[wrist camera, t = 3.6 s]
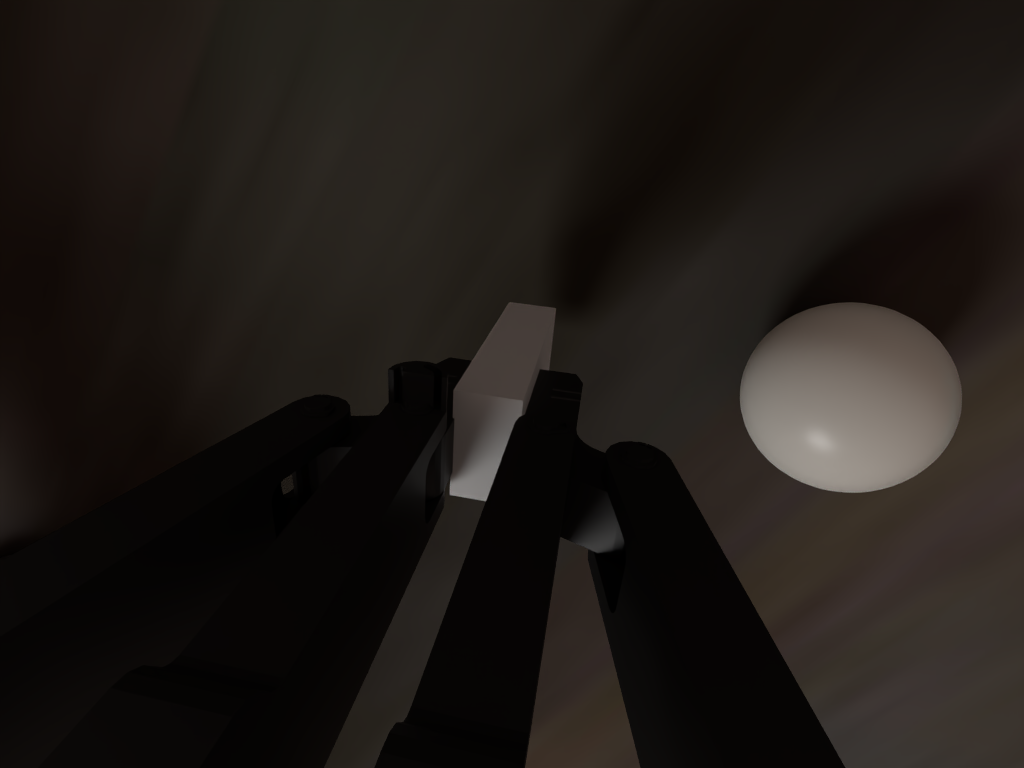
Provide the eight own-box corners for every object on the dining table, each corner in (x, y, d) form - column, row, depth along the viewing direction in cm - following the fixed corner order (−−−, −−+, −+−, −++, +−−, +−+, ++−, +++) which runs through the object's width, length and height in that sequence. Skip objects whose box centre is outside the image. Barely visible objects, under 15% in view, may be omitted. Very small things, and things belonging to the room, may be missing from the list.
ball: (709, 420, 20) (739, 514, 15) (748, 271, 18) (798, 326, 13) (869, 443, 20) (953, 549, 15) (932, 292, 17) (1058, 358, 12)
